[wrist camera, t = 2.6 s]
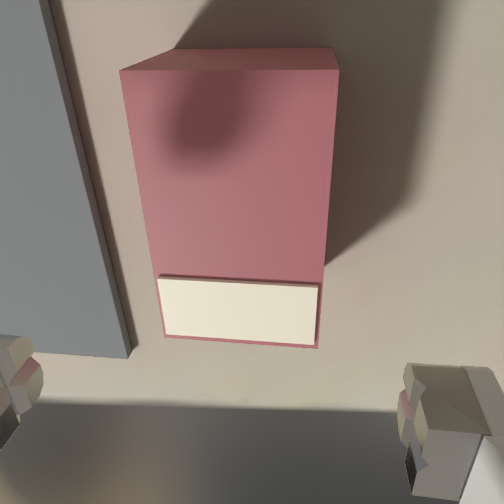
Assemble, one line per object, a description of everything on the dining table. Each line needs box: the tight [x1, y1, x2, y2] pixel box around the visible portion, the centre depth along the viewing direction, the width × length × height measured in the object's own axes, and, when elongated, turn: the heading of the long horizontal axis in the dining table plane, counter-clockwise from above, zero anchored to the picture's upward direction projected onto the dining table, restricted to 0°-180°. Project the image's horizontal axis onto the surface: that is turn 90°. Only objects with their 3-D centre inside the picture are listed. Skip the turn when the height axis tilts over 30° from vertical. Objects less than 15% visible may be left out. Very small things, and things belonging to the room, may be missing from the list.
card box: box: [119, 47, 339, 349], centre depth 15 cm, size 9×6×5 cm, turn 1°
